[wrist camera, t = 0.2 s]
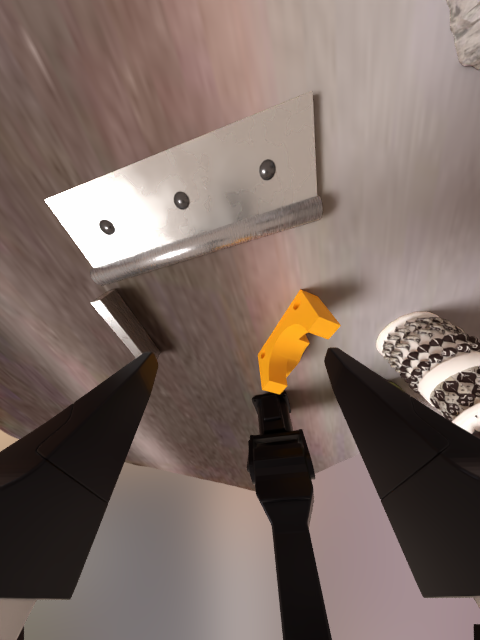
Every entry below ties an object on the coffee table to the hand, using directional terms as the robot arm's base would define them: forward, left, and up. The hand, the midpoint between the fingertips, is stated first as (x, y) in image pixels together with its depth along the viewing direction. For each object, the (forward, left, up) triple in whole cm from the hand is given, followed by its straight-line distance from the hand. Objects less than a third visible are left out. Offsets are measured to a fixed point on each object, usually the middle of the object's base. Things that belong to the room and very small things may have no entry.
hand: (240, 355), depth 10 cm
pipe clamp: (-11, -4, -14) cm, 18 cm away
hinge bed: (+4, +3, -14) cm, 15 cm away
